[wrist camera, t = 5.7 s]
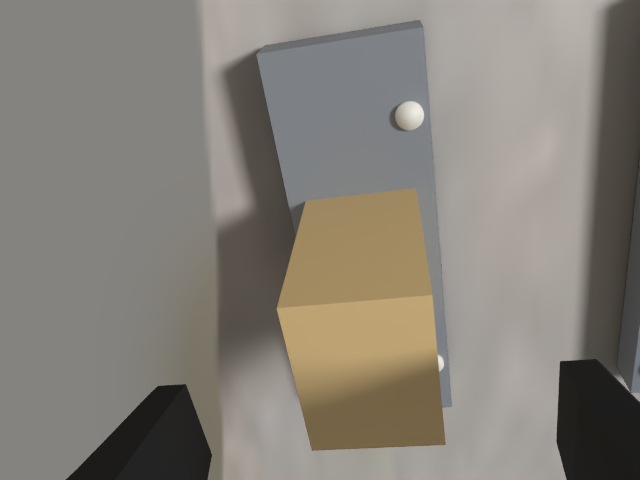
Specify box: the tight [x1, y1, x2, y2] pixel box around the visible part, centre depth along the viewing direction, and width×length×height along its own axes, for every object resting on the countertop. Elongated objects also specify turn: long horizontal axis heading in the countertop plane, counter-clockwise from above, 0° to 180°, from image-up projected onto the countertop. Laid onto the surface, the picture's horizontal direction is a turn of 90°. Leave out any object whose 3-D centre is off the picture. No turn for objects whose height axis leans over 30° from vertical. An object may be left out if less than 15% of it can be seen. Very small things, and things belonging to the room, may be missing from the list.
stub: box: [256, 20, 452, 450], centre depth 14 cm, size 4×12×6 cm, turn 10°
